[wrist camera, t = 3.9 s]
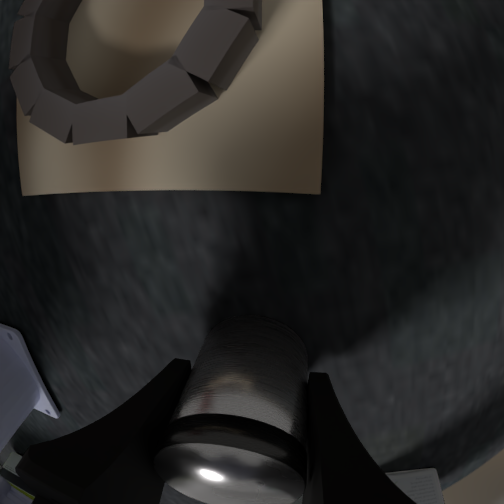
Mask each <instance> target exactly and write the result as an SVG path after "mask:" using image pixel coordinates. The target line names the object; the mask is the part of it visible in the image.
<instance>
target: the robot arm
mask: <svg viewBox="0 0 504 504" xmlns="http://www.w3.org/2000/svg"><path fill="white" fill-rule="evenodd" d="M191 371H192V370H191V363H190V360H183V359H177V358H175V359H174V360H172V361H171V362H170V363H169V364H168V365H167V366H166V367H165V368H164V369H163V370H162V371H161V372H160V373H159V374H158V375H157V376H155V377H154V378H153V379H152V380H151V381H150V382H149V383H148V384H147V385H145V386H144V387H143V388H142V389H141V390H140V391H139V392H137V393H136V394H135V395H134V396H132V397H131V398H130V399H128V400H127V401H126V402H125V403H123V404H122V405H121V406H119V407H118V408H116V409H115V410H113V411H112V412H110V413H109V414H107V415H106V416H104V417H102V418H101V419H99V420H97V421H95V422H94V423H92V424H90V425H88V426H86V427H84V428H82V429H80V430H77V431H75V432H73V433H70V434H68V435H65V436H62V437H60V438H57V439H54V440H50V441H47V442H43V443H39V444H36V445H31V446H30V447H29V448H28V449H27V451H26V452H25V454H24V455H23V457H22V458H21V460H20V461H19V463H18V464H17V466H16V467H15V471H16V473H17V475H18V476H19V477H20V478H21V479H22V480H23V481H24V482H25V483H26V484H27V485H28V486H29V487H30V488H31V489H32V490H33V491H34V492H36V493H37V495H36V496H35V498H34V500H32V499H30V498H29V497H27V496H26V495H24V494H23V493H21V492H20V491H18V490H17V489H15V488H14V487H12V486H11V484H10V483H9V482H8V481H7V480H6V479H4V478H3V477H2V476H1V475H0V504H159V502H160V498H161V494H162V491H163V487H164V483H165V481H164V480H163V479H162V478H161V477H160V476H159V475H158V474H157V472H156V470H155V468H154V464H153V456H154V453H155V451H156V449H157V446H158V444H159V442H160V439H161V437H162V435H163V432H164V430H165V428H166V427H167V425H168V424H169V422H170V420H171V418H172V415H173V413H174V411H175V408H176V406H177V403H178V401H179V399H180V396H181V394H182V392H183V389H184V387H185V385H186V382H187V380H188V378H189V375H190V373H191ZM33 408H35V409H37V410H39V411H41V412H43V413H45V414H47V415H50V416H52V417H54V418H58V417H59V416H60V413H59V411H58V409H57V407H56V405H55V404H54V402H53V400H52V398H51V396H50V394H49V393H48V391H47V389H46V387H45V385H44V383H43V381H42V379H41V377H40V375H39V373H38V371H37V369H36V366H35V364H34V362H33V360H32V358H31V356H30V353H29V351H28V349H27V346H26V344H25V342H24V339H23V337H22V335H21V333H20V332H19V331H18V330H17V329H15V328H12V327H9V326H6V325H3V324H1V323H0V452H1V451H2V450H3V448H4V447H5V445H6V444H7V443H8V441H9V440H10V439H11V437H12V436H13V435H14V433H15V432H16V431H17V429H18V428H19V427H20V425H21V424H22V423H23V421H24V420H25V419H26V417H27V416H28V415H29V413H30V412H31V411H32V410H33ZM306 452H307V457H308V462H307V484H306V489H305V491H304V493H303V502H302V504H417V503H416V502H414V501H413V500H412V499H411V498H410V497H408V496H407V495H406V494H405V493H404V492H403V491H402V490H401V489H400V488H399V487H397V486H396V485H395V484H394V483H393V482H392V480H391V479H390V478H389V477H388V476H387V475H386V474H385V473H384V472H383V471H382V469H381V468H380V467H379V466H378V465H377V464H376V462H375V461H374V460H373V459H372V457H371V456H370V455H369V453H368V452H367V450H366V449H365V448H364V446H363V445H362V443H361V442H360V440H359V439H358V437H357V435H356V434H355V432H354V430H353V429H352V427H351V425H350V423H349V422H348V420H347V418H346V416H345V414H344V412H343V410H342V408H341V406H340V404H339V401H338V399H337V397H336V394H335V392H334V390H333V387H332V384H331V381H330V378H329V375H328V374H327V373H317V372H310V374H309V380H308V392H307V444H306Z"/></svg>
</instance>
